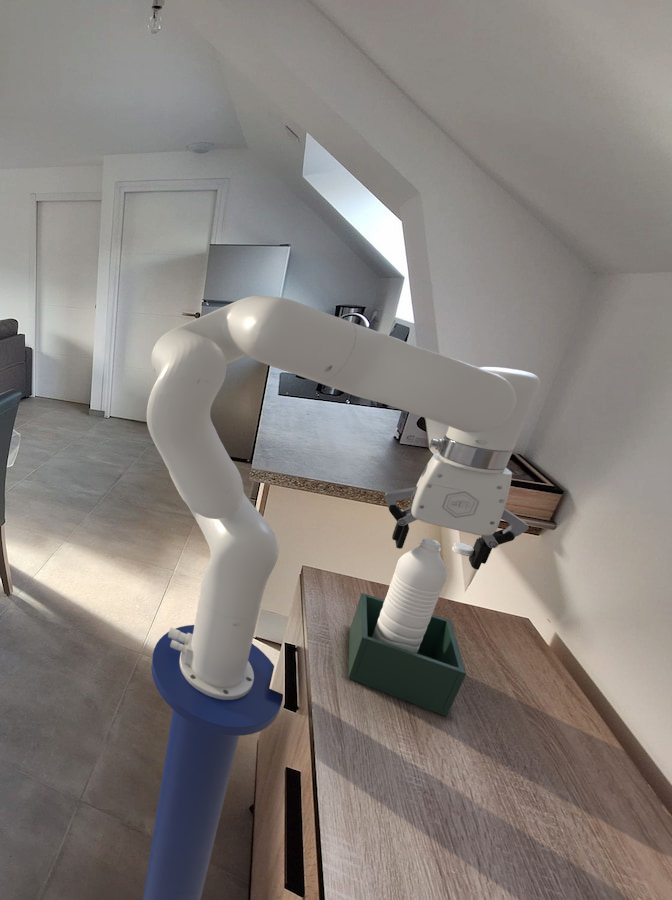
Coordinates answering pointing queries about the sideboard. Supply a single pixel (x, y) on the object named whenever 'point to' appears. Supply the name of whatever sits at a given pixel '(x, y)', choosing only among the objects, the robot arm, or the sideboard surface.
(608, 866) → the sideboard surface
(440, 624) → the tote
